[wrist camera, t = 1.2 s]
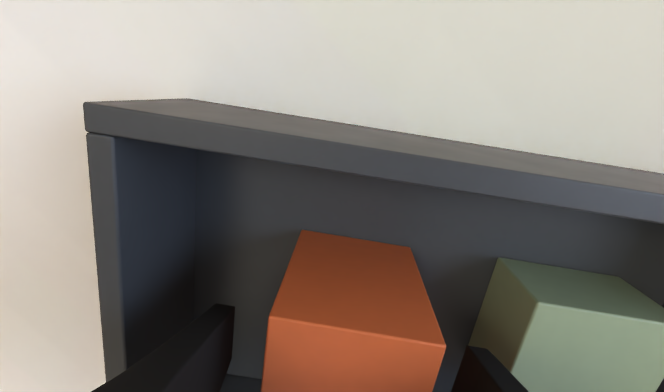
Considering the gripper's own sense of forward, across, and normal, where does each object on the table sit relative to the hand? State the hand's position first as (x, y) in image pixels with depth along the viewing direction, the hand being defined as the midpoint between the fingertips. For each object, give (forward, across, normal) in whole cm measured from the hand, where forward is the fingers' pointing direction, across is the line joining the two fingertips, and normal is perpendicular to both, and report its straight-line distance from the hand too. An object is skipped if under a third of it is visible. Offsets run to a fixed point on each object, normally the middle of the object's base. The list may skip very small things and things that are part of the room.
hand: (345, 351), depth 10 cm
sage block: (+4, -8, 0) cm, 9 cm away
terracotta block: (+4, 0, 0) cm, 4 cm away
